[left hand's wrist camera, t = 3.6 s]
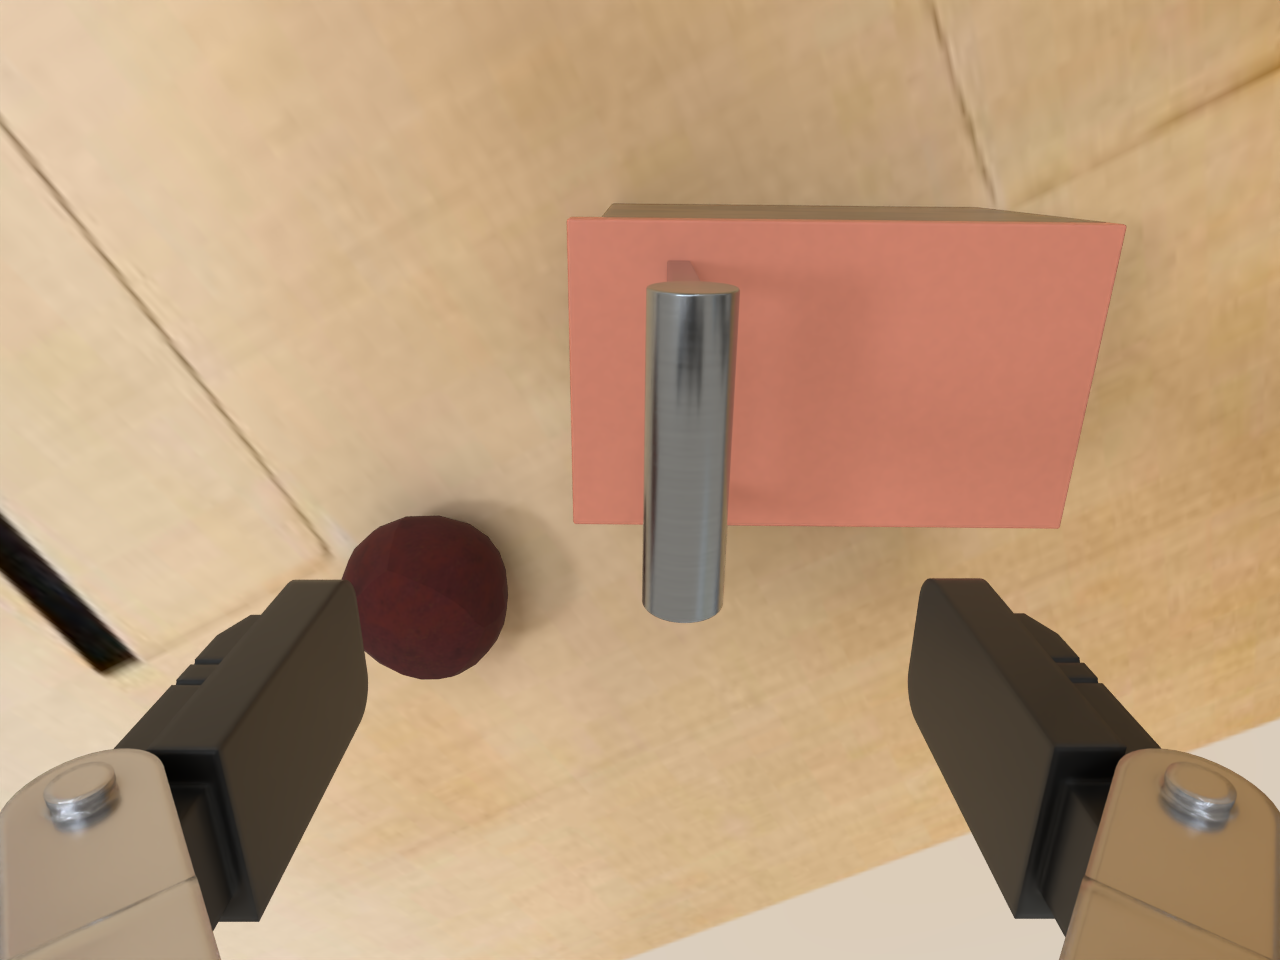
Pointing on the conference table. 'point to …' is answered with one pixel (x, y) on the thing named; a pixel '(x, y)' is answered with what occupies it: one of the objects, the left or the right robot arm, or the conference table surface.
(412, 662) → the dark red ball
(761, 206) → the chest
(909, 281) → the lid
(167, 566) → the conference table surface
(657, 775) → the conference table surface
